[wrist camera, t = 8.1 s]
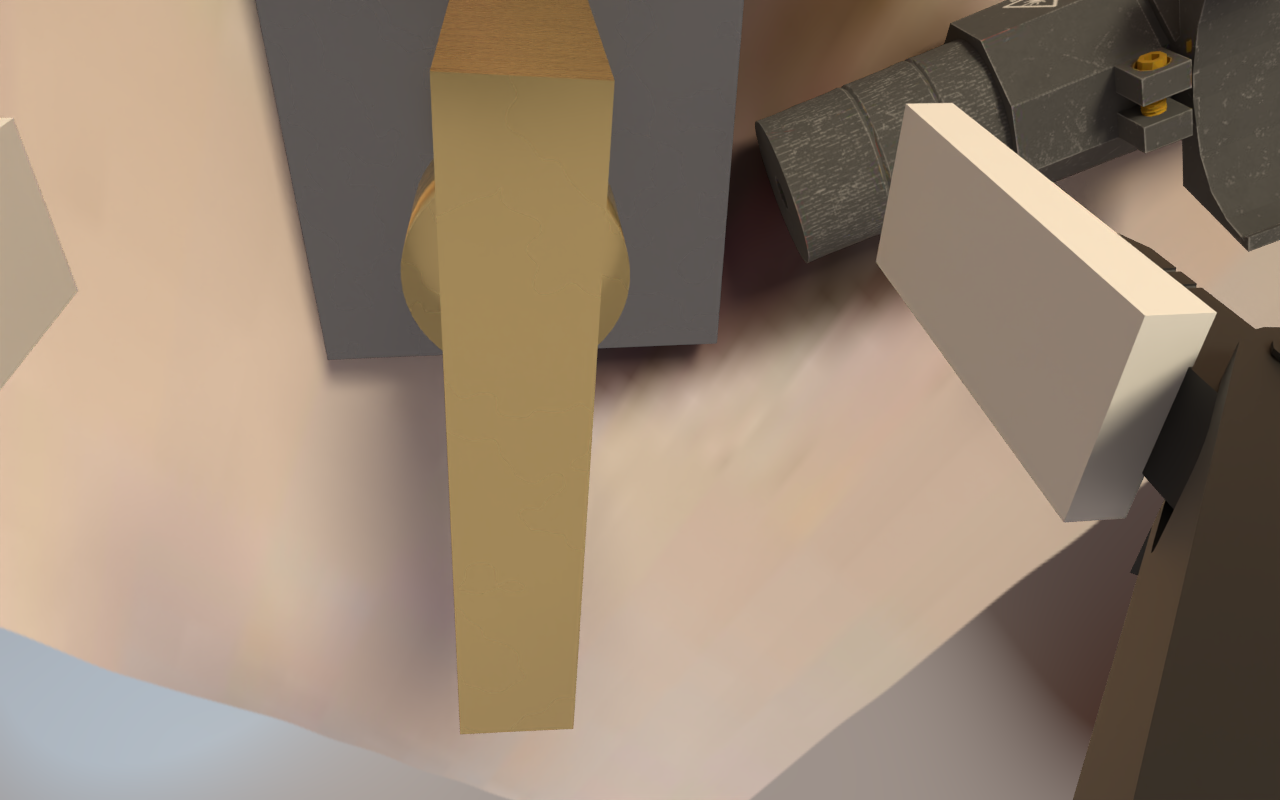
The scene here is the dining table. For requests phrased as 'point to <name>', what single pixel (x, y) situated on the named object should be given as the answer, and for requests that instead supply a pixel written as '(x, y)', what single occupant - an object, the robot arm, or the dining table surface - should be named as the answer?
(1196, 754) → the robot arm
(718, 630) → the dining table surface
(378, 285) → the post base
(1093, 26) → the laser sight
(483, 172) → the lever handle
